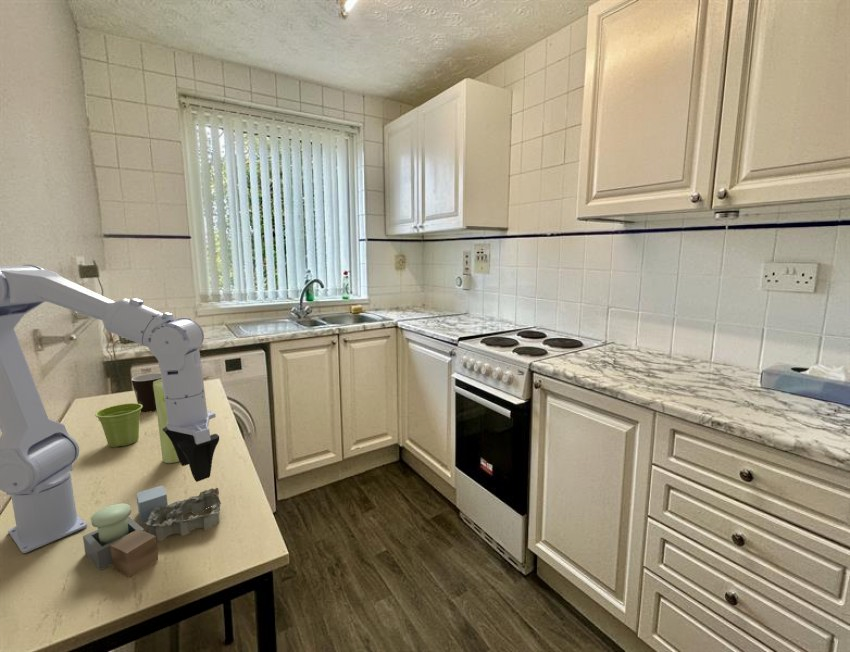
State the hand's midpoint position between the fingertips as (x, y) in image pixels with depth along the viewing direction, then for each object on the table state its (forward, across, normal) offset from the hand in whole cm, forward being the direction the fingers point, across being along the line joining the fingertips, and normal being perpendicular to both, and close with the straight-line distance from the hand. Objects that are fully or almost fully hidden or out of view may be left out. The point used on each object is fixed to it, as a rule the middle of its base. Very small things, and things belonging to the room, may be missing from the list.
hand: (195, 470), depth 68 cm
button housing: (+9, +2, +12) cm, 15 cm away
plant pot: (+9, +49, +4) cm, 50 cm away
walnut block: (+10, -4, +10) cm, 14 cm away
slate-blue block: (+9, +9, +5) cm, 14 cm away
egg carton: (+10, +2, +2) cm, 10 cm away
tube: (+9, +30, -3) cm, 31 cm away
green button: (+7, +2, +12) cm, 14 cm away
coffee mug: (+8, +71, -7) cm, 72 cm away
